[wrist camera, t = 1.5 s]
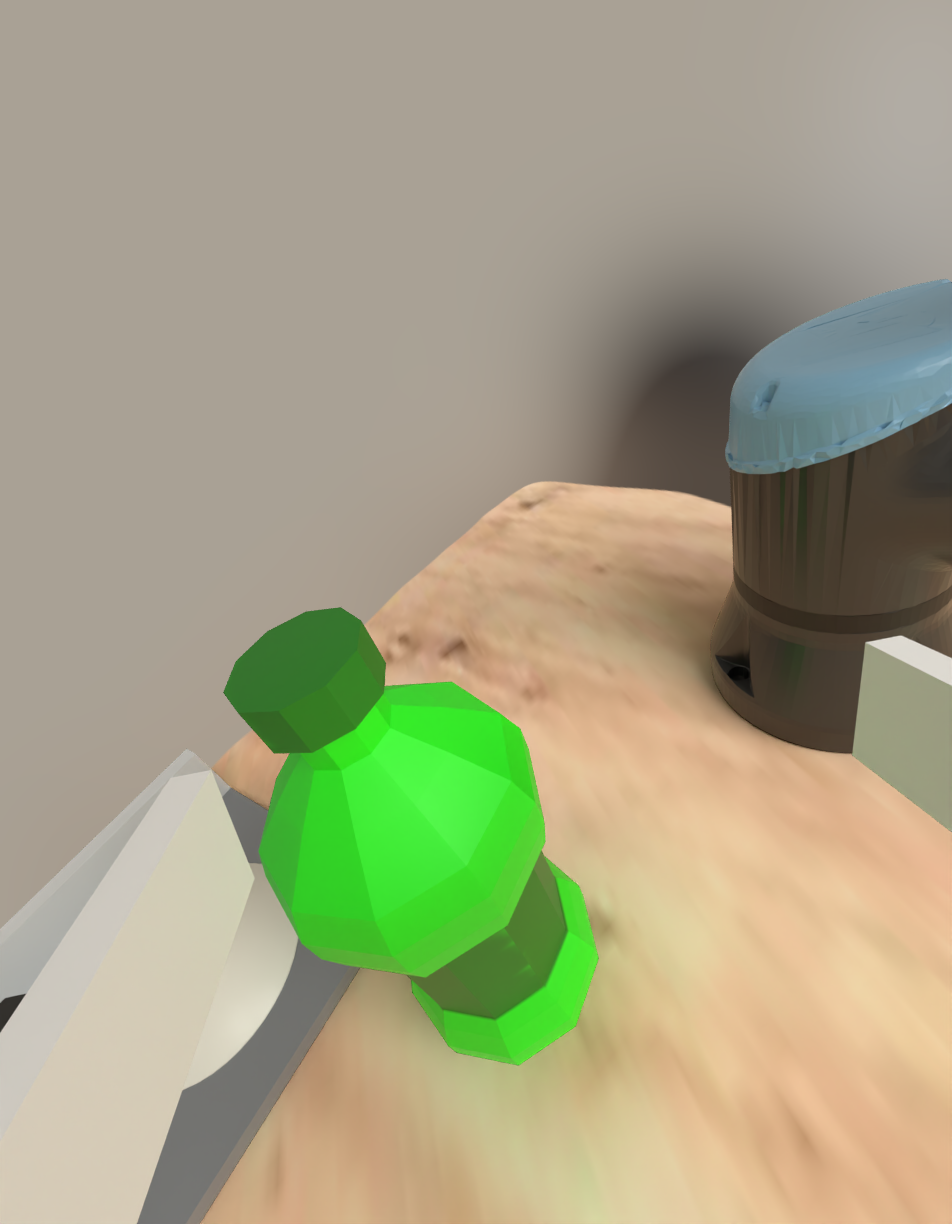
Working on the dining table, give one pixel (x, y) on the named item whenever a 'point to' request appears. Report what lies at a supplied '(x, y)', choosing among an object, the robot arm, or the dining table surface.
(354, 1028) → the dining table surface
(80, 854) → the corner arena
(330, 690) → the plastic bottle
